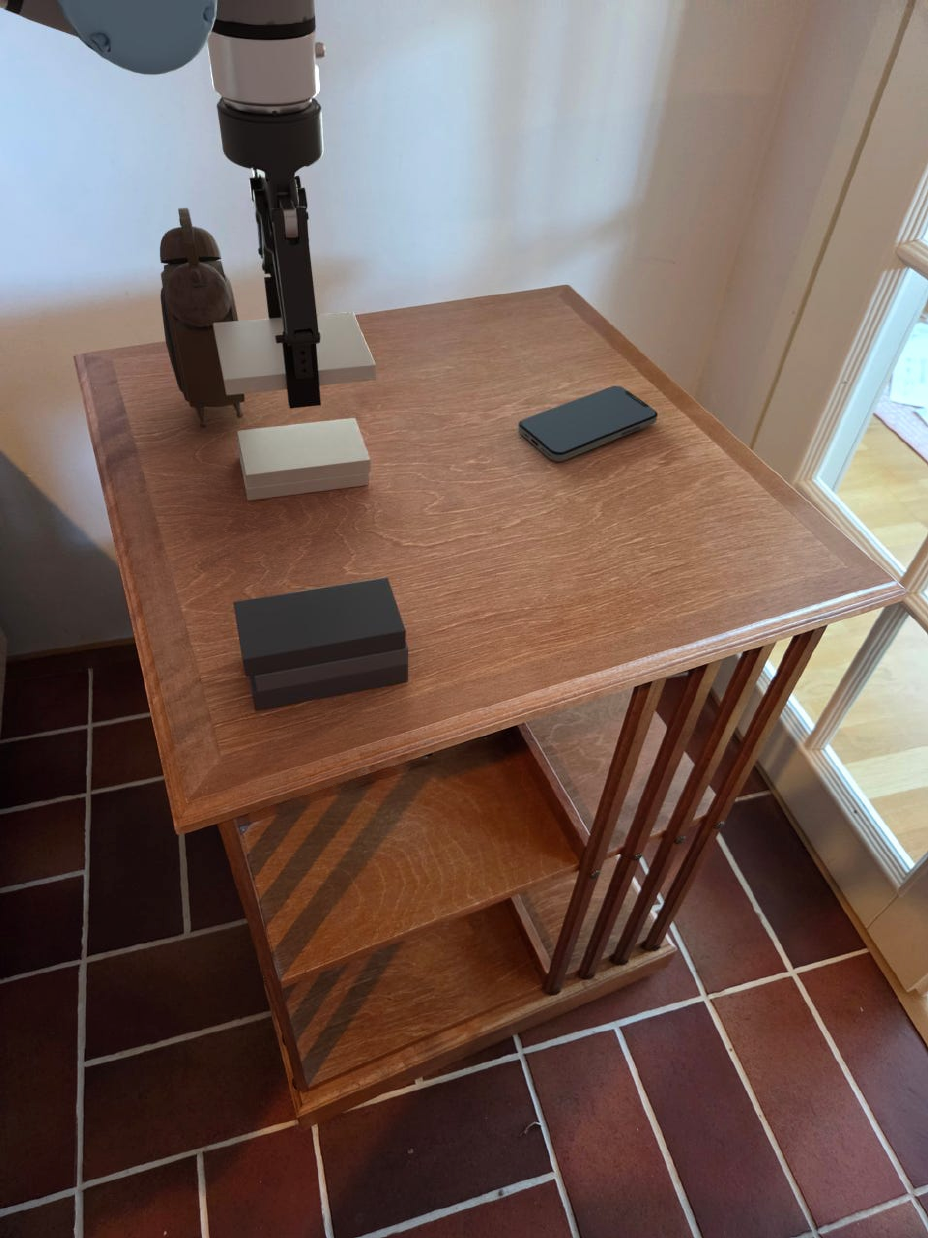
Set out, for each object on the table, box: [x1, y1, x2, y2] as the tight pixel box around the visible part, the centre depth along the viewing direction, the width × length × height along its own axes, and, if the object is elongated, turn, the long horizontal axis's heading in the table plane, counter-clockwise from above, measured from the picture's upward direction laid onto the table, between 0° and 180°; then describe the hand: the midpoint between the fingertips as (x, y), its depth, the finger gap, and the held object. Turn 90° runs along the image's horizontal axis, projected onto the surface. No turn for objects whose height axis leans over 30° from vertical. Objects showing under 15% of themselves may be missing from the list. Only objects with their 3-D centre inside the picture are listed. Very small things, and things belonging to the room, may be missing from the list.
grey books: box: [233, 576, 409, 712], centre depth 65 cm, size 12×6×6 cm, turn 107°
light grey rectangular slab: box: [213, 311, 377, 395], centre depth 75 cm, size 13×10×2 cm
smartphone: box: [517, 385, 659, 462], centre depth 92 cm, size 8×2×15 cm
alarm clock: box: [159, 207, 246, 429], centre depth 84 cm, size 15×7×20 cm, turn 17°
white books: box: [236, 417, 372, 501], centre depth 83 cm, size 12×8×3 cm, turn 107°
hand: (295, 373), depth 76 cm, fingers closed on light grey rectangular slab, 10 cm apart
